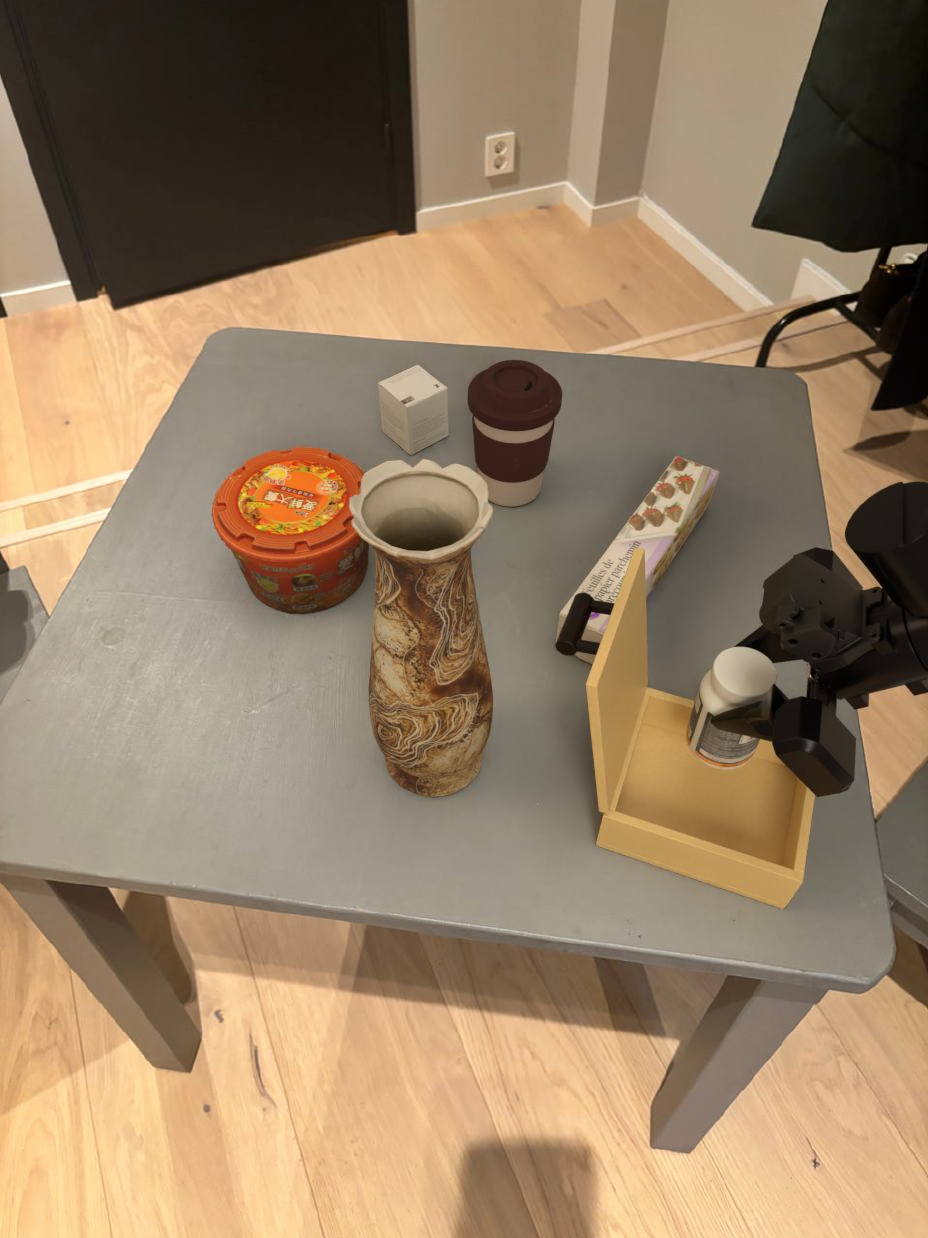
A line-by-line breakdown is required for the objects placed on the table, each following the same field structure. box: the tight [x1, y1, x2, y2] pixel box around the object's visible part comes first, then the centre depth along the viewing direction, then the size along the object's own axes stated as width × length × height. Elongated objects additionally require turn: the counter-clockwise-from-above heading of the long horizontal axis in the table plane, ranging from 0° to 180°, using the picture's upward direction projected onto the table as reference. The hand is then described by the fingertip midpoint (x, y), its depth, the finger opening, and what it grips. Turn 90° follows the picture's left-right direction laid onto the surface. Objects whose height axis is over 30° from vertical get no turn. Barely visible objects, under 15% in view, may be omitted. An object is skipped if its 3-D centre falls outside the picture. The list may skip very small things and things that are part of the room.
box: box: [554, 455, 720, 665], centre depth 93 cm, size 27×5×6 cm, turn 147°
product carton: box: [377, 364, 450, 456], centre depth 107 cm, size 6×6×7 cm
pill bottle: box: [686, 646, 778, 770], centre depth 70 cm, size 6×6×10 cm
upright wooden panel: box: [554, 548, 649, 814], centre depth 70 cm, size 16×14×4 cm
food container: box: [211, 446, 370, 615], centre depth 92 cm, size 16×16×11 cm
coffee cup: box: [467, 359, 563, 508], centre depth 98 cm, size 10×10×15 cm
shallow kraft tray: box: [595, 686, 816, 910], centre depth 76 cm, size 16×14×5 cm
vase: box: [349, 458, 494, 798], centre depth 70 cm, size 10×11×30 cm
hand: (718, 692), depth 69 cm, fingers closed on pill bottle, 6 cm apart
